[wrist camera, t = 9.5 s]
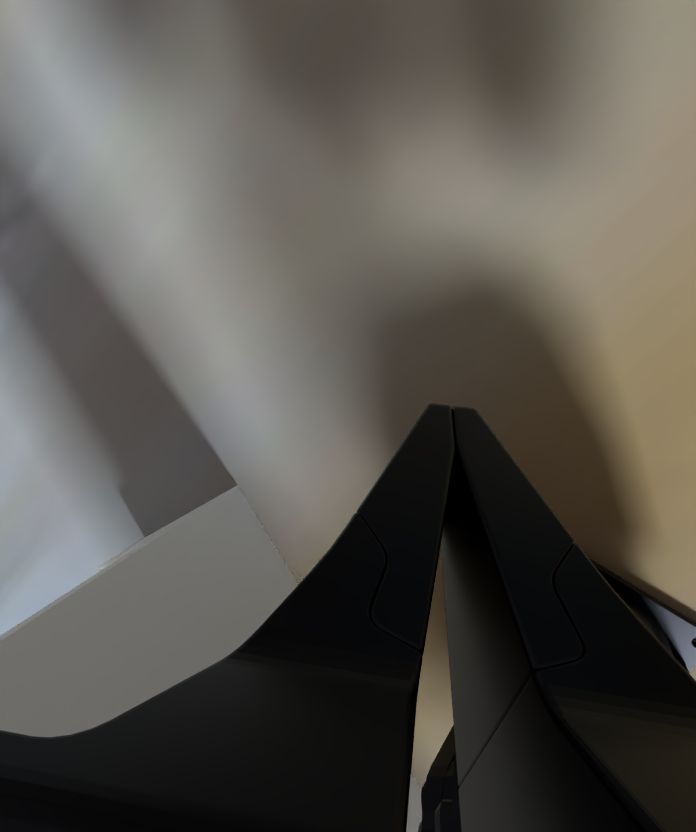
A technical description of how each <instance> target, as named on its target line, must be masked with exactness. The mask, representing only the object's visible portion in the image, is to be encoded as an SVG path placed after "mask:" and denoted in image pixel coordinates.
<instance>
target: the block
mask: <svg viewBox="0 0 696 832" xmlns="http://www.w3.org/2000/svg"><path fill="white" fill-rule="evenodd" d="M98 568H99V570H100V572H98V573H97V574H95V575H94V576H92V577H91V578H89V579H87V580H86V581H84V582H83V583H81V584H80V585H78V586H77V587H75V588H74V589H72V590H71V591H69V592H67V593H66V594H64V595H63V596H61V597H60V598H58V599H57V600H55V601H54V602H52V603H51V604H49V605H47V606H46V607H44V608H43V609H41V610H40V611H38V612H37V613H35V614H34V615H32V616H31V617H29V618H27V619H26V620H24V621H23V622H21V623H20V624H18V625H17V626H15V627H14V628H12V629H10V630H9V631H7V632H6V633H4V634H3V635H1V636H0V730H2V731H7V732H13V733H18V734H23V735H28V736H35V737H57V736H64V735H71V734H75V733H78V732H81V731H85V730H88V729H92V728H94V727H96V726H98V725H101V724H103V723H105V722H107V721H109V720H111V719H113V718H115V717H117V716H119V715H121V714H123V713H124V712H126V711H128V710H130V709H132V708H134V707H135V706H137V705H139V704H141V703H143V702H145V701H146V700H148V699H150V698H152V697H154V696H156V695H158V694H159V693H161V692H163V691H165V690H167V689H169V688H170V687H172V686H174V685H176V684H178V683H180V682H182V681H183V680H185V679H187V678H189V677H191V676H193V675H194V674H196V673H198V672H200V671H202V670H204V669H205V668H207V667H209V666H211V665H213V664H215V663H217V662H218V661H220V660H222V659H223V658H225V657H226V656H228V655H229V654H231V653H232V652H233V651H234V650H236V649H237V648H238V647H239V646H241V645H242V644H243V643H244V642H245V641H246V640H247V639H248V638H249V637H250V636H251V635H252V634H253V633H254V632H255V631H256V630H257V629H258V628H259V627H260V626H261V625H262V624H263V623H264V622H265V621H266V619H267V618H268V617H269V616H270V615H271V614H272V613H273V612H274V611H275V610H276V609H277V607H278V606H279V605H280V604H281V603H282V602H283V601H284V600H285V599H286V598H287V597H288V595H289V594H290V593H291V592H292V591H293V590H294V589H295V588H296V587H297V586H298V584H297V583H296V581H295V579H294V578H293V576H292V574H291V573H290V571H289V569H288V568H287V566H286V564H285V563H284V561H283V559H282V558H281V556H280V554H279V553H278V551H277V549H276V548H275V546H274V544H273V543H272V541H271V539H270V538H269V536H268V534H267V533H266V531H265V529H264V528H263V526H262V525H261V523H260V521H259V520H258V518H257V516H256V515H255V513H254V511H253V510H252V508H251V506H250V505H249V503H248V501H247V500H246V498H245V496H244V495H243V493H242V491H241V490H240V488H239V486H238V485H237V486H235V487H233V488H231V489H229V490H228V491H226V492H224V493H222V494H221V495H219V496H217V497H215V498H214V499H212V500H210V501H208V502H207V503H205V504H203V505H201V506H199V507H198V508H196V509H194V510H192V511H191V512H189V513H187V514H185V515H184V516H182V517H180V518H178V519H177V520H175V521H173V522H171V523H169V524H168V525H166V526H164V527H162V528H161V529H159V530H157V531H155V532H154V533H152V534H150V535H148V536H146V537H145V538H143V539H142V540H140V541H138V542H137V543H135V544H134V545H132V546H131V547H129V548H127V549H126V550H124V551H123V552H121V553H120V554H118V555H117V556H115V557H114V558H112V559H110V560H109V561H107V562H105V563H104V564H102V565H101V566H99V567H98ZM421 821H422V806H421V789H420V787H419V786H418V784H417V782H416V781H415V779H414V777H413V776H412V774H411V778H410V791H409V804H408V816H407V829H406V832H418V828H419V824H420V822H421Z"/></svg>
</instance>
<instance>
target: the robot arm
mask: <svg viewBox="0 0 696 832" xmlns="http://www.w3.org/2000/svg"><path fill="white" fill-rule="evenodd" d="M574 543H575V540H574V539H573V537H572V536H571V535H570V533H569V532H568V531H567V530H566V528H565V527H564V526H563V524H562V523H561V522H560V520H559V519H558V518H557V516H556V515H555V514H554V512H553V511H552V510H551V508H550V507H549V506H548V504H547V503H546V502H545V500H544V499H543V498H542V496H541V495H540V494H539V493H538V491H537V490H536V489H535V487H534V486H533V485H532V483H531V482H530V481H529V479H528V478H527V477H526V475H525V474H524V473H523V471H522V470H521V469H520V467H519V466H518V465H517V463H516V462H515V461H514V460H513V458H512V457H511V456H510V454H509V453H508V452H507V450H506V449H505V448H504V446H503V445H502V444H501V442H500V441H499V440H498V438H497V437H496V436H495V434H494V433H493V432H492V430H491V429H490V428H489V426H488V425H487V424H486V423H485V421H484V420H483V419H482V417H481V416H480V415H479V413H478V412H477V411H476V410H475V409H473V408H467V407H458V406H455V407H453V408H452V409H451V407H450V406H448V405H441V404H433V403H432V404H429V405H428V406H427V407H426V409H425V410H424V412H423V413H422V415H421V416H420V418H419V419H418V421H417V422H416V424H415V425H414V427H413V428H412V430H411V431H410V433H409V434H408V436H407V437H406V439H405V440H404V442H403V443H402V445H401V446H400V448H399V449H398V451H397V452H396V453H395V455H394V456H393V458H392V459H391V461H390V462H389V464H388V465H387V467H386V468H385V470H384V471H383V473H382V474H381V476H380V477H379V479H378V480H377V482H376V483H375V485H374V486H373V488H372V489H371V491H370V492H369V494H368V495H367V497H366V498H365V500H364V501H363V503H362V504H361V505H360V507H359V508H358V510H357V513H355V514H354V515H353V517H352V518H351V520H350V521H349V523H348V524H347V526H346V527H345V529H344V530H343V531H342V533H341V534H340V536H339V537H338V538H337V540H336V541H335V542H334V544H333V545H332V546H331V548H330V549H329V550H328V552H327V553H326V554H325V555H324V556H323V557H322V559H321V560H320V561H319V562H318V563H317V564H316V566H315V567H314V568H313V569H312V570H311V571H310V573H309V574H308V575H307V576H306V577H305V578H304V579H303V580H302V581H301V582H300V583H299V585H298V586H297V587H296V588H295V589H294V590H293V591H292V592H291V593H290V594H289V595H288V597H287V598H286V599H285V600H284V601H283V602H282V603H281V604H280V605H279V606H278V607H277V609H276V610H275V611H274V612H273V613H272V614H271V615H270V616H269V617H268V618H267V619H266V621H265V622H264V623H263V624H262V625H261V626H260V627H259V628H258V629H257V630H256V631H255V632H254V633H253V634H252V635H251V636H250V637H249V638H248V639H247V640H246V641H245V642H244V643H243V644H242V645H241V646H239V647H238V648H237V649H236V650H234V651H233V652H232V653H231V654H229V655H228V656H226V657H225V658H223V659H222V660H220V661H218V662H217V663H215V664H213V665H211V666H209V667H207V668H205V669H204V670H202V671H200V672H198V673H196V674H194V675H193V676H191V677H189V678H187V679H185V680H183V681H182V682H180V683H178V684H176V685H174V686H172V687H170V688H169V689H167V690H165V691H163V692H161V693H159V694H158V695H156V696H154V697H152V698H150V699H148V700H146V701H145V702H143V703H141V704H139V705H137V706H135V707H134V708H132V709H130V710H128V711H126V712H124V713H123V714H121V715H119V716H117V717H115V718H113V719H111V720H109V721H107V722H105V723H103V724H101V725H98V726H96V727H94V728H92V729H88V730H85V731H81V732H78V733H75V734H71V735H64V736H57V737H35V736H28V735H23V734H18V733H13V732H7V731H2V730H0V832H406V829H407V816H408V804H409V791H410V778H411V766H412V753H413V741H414V728H415V715H416V703H417V694H418V686H419V678H420V672H421V665H422V656H423V652H424V646H425V640H426V633H427V627H428V621H429V614H430V608H431V602H432V596H433V589H434V583H435V577H436V570H437V564H438V558H439V552H440V545H441V556H442V569H443V583H444V597H445V610H446V624H447V638H448V651H449V665H450V678H451V692H452V706H453V719H454V725H453V727H452V729H451V731H450V732H449V734H448V736H447V738H446V740H445V742H444V743H443V745H442V747H441V749H440V751H439V753H438V754H437V756H436V758H435V760H434V762H433V763H432V765H431V768H430V770H429V773H428V775H427V779H426V782H425V784H424V785H423V787H422V791H421V806H422V821H421V822H420V824H419V828H418V832H696V681H695V680H694V678H693V677H692V676H691V675H690V673H689V671H690V670H691V669H692V668H693V667H695V666H696V642H693V641H692V639H694V638H696V623H695V622H693V621H692V620H690V619H688V618H687V617H685V616H683V615H682V614H680V613H678V612H677V611H675V610H673V609H672V608H670V607H668V606H667V605H665V604H663V603H662V602H660V601H658V600H657V599H655V598H654V597H652V596H650V595H649V594H647V593H645V592H644V591H642V590H640V589H639V588H637V587H635V586H634V585H632V584H630V583H629V582H627V581H625V580H624V579H622V578H620V577H619V576H617V575H615V574H614V573H612V572H611V571H609V570H607V569H606V568H604V567H602V566H601V565H599V564H597V563H596V562H594V561H592V560H591V559H589V558H588V557H587V556H586V554H585V553H584V552H583V550H582V549H581V548H580V546H579V545H578V544H574Z"/></svg>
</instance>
